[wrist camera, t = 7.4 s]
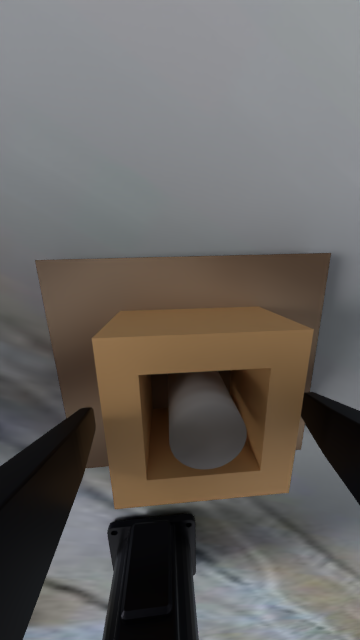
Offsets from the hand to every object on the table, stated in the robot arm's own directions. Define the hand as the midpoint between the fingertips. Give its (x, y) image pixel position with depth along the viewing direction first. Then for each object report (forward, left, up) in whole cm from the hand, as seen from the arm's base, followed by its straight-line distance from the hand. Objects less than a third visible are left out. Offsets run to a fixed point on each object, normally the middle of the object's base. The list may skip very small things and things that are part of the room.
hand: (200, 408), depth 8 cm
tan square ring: (0, 0, -3) cm, 3 cm away
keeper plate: (0, 0, -4) cm, 4 cm away
